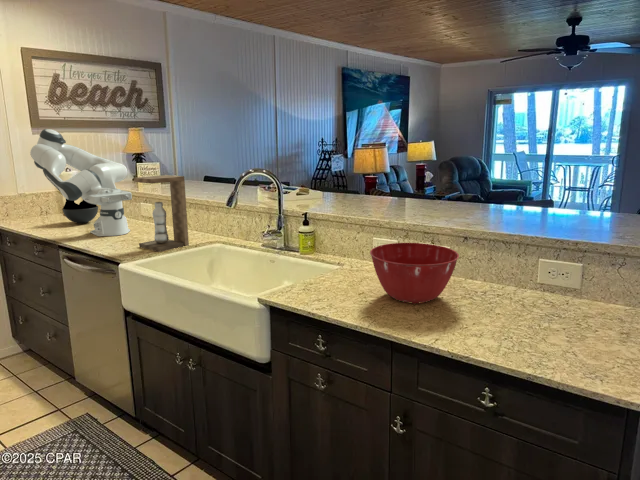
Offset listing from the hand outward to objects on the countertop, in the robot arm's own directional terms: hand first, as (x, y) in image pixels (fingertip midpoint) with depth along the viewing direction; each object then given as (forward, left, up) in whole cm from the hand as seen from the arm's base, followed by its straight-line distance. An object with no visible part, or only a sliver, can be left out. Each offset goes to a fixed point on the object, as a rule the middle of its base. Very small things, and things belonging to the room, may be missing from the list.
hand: (119, 198), depth 232 cm
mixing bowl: (+147, +17, -24) cm, 150 cm away
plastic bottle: (+15, +11, -22) cm, 29 cm away
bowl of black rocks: (-84, +22, -24) cm, 90 cm away
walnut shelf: (+14, +12, -24) cm, 30 cm away
